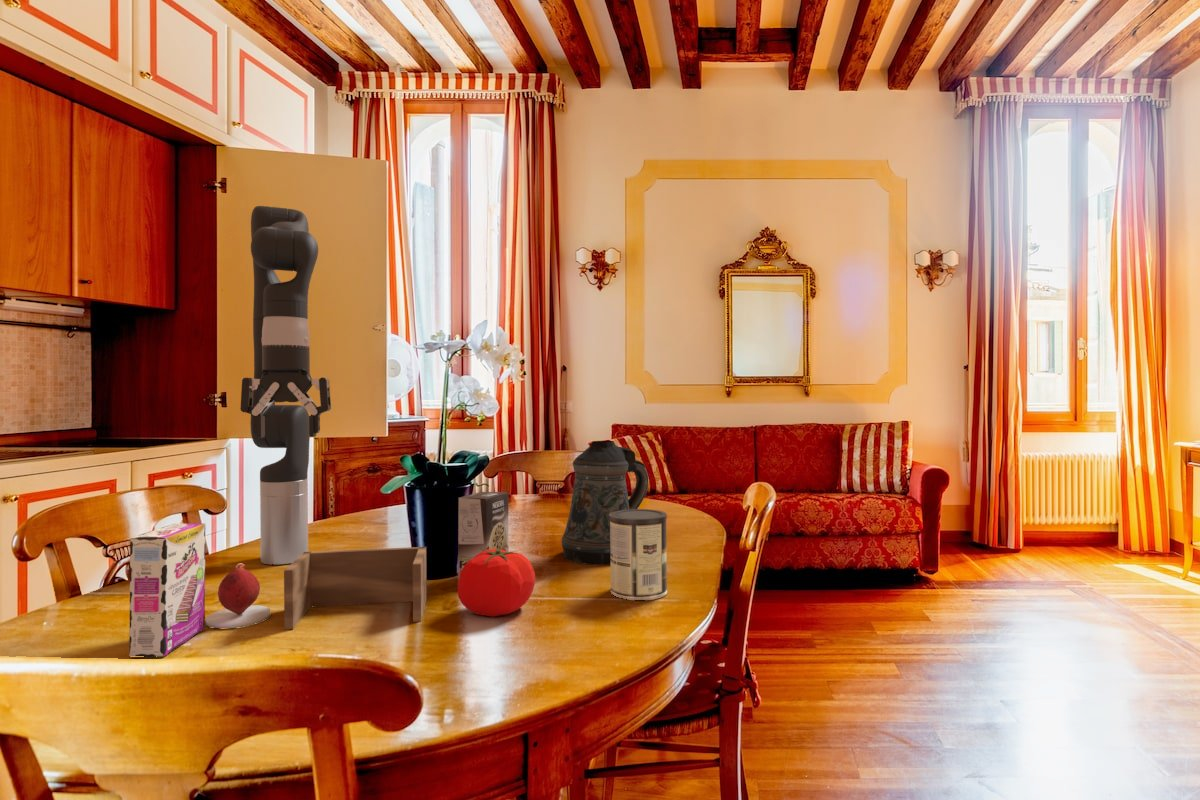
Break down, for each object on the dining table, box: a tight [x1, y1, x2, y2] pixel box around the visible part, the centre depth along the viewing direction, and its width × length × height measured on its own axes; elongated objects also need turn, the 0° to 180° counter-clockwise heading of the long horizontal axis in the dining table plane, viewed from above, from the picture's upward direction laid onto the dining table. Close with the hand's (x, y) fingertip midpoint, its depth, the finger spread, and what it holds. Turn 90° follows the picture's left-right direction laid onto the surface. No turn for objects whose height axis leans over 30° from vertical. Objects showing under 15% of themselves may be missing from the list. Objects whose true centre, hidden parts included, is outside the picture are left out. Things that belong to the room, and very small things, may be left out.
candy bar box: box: [128, 522, 207, 659], centre depth 96 cm, size 11×5×16 cm, turn 5°
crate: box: [283, 546, 428, 631], centre depth 109 cm, size 12×20×9 cm, turn 100°
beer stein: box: [561, 440, 650, 565], centre depth 148 cm, size 16×19×25 cm
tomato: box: [457, 548, 536, 618], centre depth 110 cm, size 11×13×10 cm
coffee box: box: [457, 491, 510, 582], centre depth 130 cm, size 9×6×16 cm
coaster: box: [205, 604, 271, 629], centre depth 106 cm, size 9×9×1 cm
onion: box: [217, 562, 261, 614], centre depth 106 cm, size 6×6×8 cm
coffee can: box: [609, 508, 668, 601], centre depth 120 cm, size 10×10×14 cm
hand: (286, 437), depth 118 cm, fingers open, 8 cm apart
